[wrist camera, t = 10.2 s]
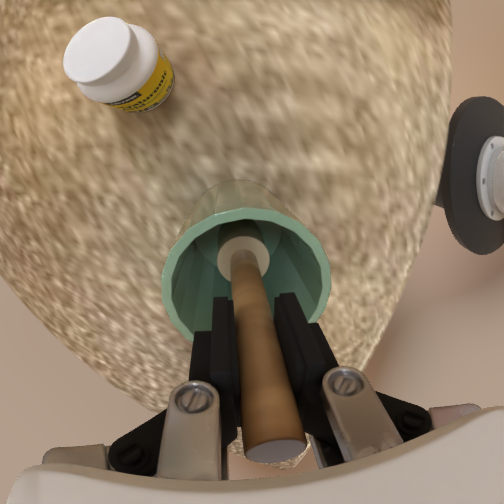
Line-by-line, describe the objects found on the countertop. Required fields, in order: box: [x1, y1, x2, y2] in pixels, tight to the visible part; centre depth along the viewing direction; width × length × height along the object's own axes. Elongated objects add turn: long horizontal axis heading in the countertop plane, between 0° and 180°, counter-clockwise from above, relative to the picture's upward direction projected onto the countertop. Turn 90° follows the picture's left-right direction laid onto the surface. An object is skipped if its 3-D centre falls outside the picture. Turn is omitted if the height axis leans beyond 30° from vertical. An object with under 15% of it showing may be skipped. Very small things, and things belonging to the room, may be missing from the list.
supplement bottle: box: [63, 17, 174, 113], centre depth 13 cm, size 5×5×10 cm
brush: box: [217, 219, 307, 463], centre depth 13 cm, size 3×3×17 cm
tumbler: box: [161, 180, 331, 343], centre depth 18 cm, size 8×8×11 cm
